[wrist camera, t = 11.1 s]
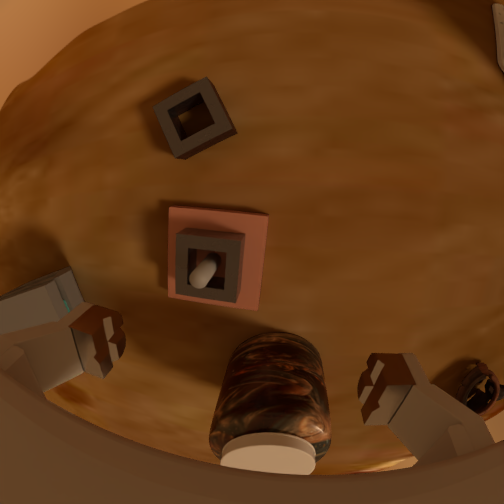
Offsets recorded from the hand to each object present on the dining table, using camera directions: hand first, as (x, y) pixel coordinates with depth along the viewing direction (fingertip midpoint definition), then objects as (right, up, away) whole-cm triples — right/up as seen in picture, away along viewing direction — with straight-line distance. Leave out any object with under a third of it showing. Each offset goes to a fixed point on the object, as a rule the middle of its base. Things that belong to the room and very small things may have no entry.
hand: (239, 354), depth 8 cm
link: (-4, +2, +20) cm, 21 cm away
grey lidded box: (-29, -4, +26) cm, 39 cm away
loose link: (-5, +16, +18) cm, 25 cm away
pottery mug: (+38, -19, +23) cm, 48 cm away
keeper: (-3, +3, +22) cm, 22 cm away
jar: (+3, -12, +25) cm, 28 cm away
